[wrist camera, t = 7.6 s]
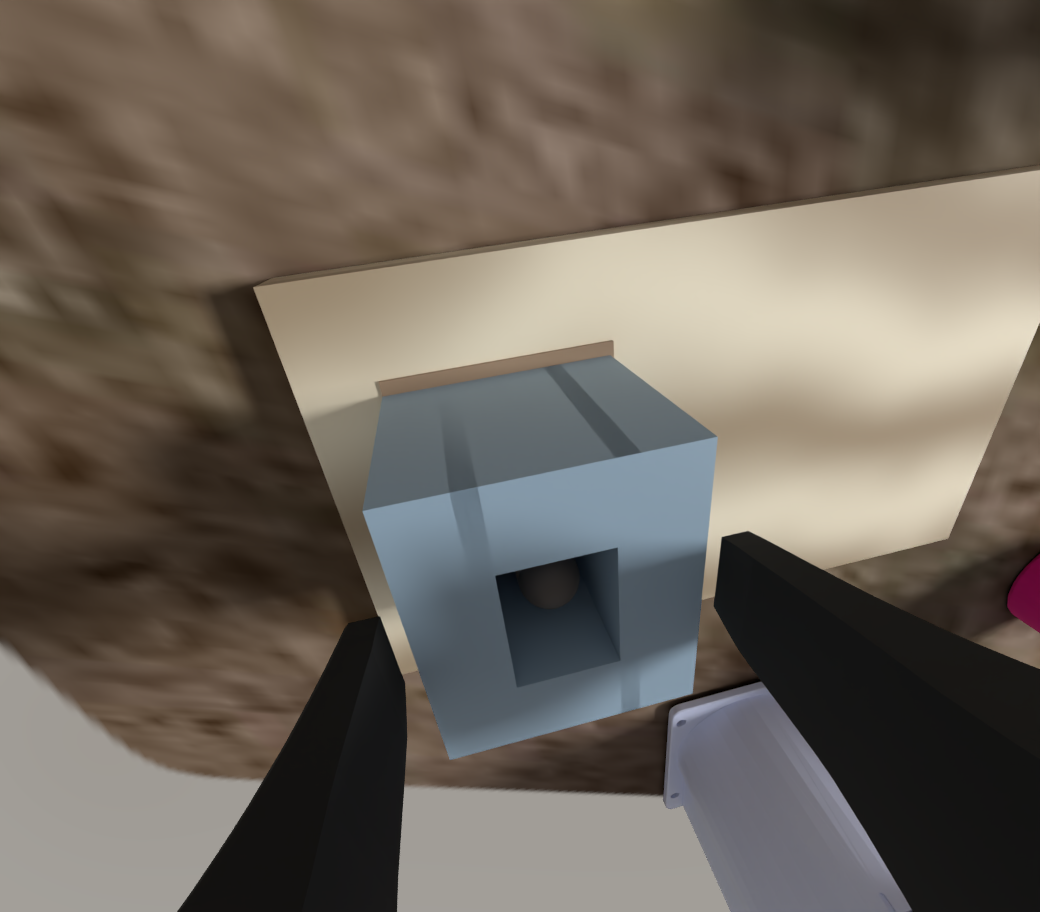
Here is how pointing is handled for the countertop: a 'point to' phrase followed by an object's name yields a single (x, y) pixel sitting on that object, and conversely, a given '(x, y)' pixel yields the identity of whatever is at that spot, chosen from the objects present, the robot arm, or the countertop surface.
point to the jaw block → (542, 545)
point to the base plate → (712, 354)
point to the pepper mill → (1027, 595)
